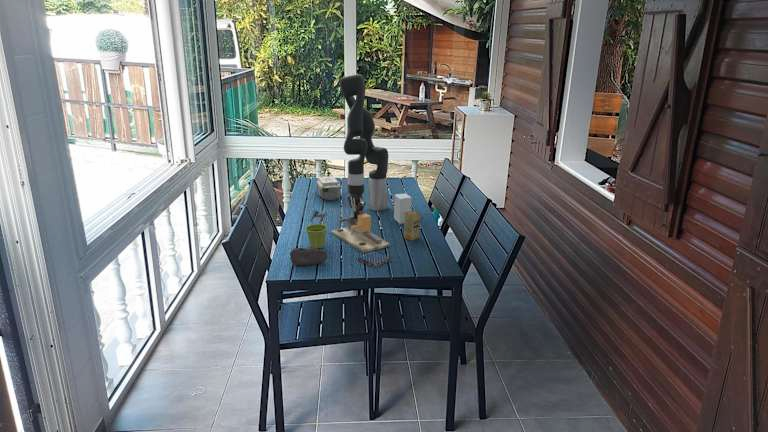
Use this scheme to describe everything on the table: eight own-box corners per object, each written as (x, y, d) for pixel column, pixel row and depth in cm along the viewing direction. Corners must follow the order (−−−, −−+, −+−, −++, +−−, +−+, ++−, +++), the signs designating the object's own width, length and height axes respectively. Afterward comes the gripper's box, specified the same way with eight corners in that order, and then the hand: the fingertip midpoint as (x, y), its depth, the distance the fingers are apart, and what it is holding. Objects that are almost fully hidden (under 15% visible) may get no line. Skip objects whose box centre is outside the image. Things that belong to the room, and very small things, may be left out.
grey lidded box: (322, 202, 280) (321, 185, 278) (315, 191, 307) (314, 175, 304) (343, 201, 283) (342, 183, 281) (334, 190, 310) (334, 174, 307)
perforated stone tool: (327, 260, 210) (327, 244, 207) (328, 265, 205) (328, 249, 202) (290, 262, 207) (289, 246, 205) (290, 268, 202) (289, 251, 200)
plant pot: (318, 252, 217) (318, 233, 215) (301, 247, 222) (300, 228, 219) (332, 245, 225) (331, 226, 222) (315, 240, 230) (314, 222, 227)
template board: (357, 227, 246) (357, 213, 244) (390, 246, 224) (390, 231, 222) (331, 232, 239) (331, 218, 237) (362, 252, 217) (362, 237, 215)
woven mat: (356, 261, 210) (356, 256, 209) (374, 254, 217) (374, 249, 216) (373, 269, 203) (373, 264, 202) (392, 261, 210) (392, 257, 210)
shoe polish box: (419, 237, 234) (420, 213, 230) (411, 240, 231) (412, 215, 227) (411, 235, 237) (411, 210, 233) (403, 237, 234) (404, 213, 230)
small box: (411, 222, 253) (412, 197, 249) (399, 224, 251) (400, 198, 247) (405, 217, 260) (405, 193, 256) (393, 218, 258) (394, 194, 254)
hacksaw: (314, 212, 268) (314, 210, 267) (334, 213, 267) (334, 210, 267) (305, 229, 245) (305, 226, 244) (327, 229, 244) (326, 226, 244)
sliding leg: (366, 230, 236) (366, 213, 233) (370, 232, 233) (370, 216, 230) (348, 233, 231) (348, 217, 228) (353, 236, 228) (353, 219, 225)
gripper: (370, 184, 228) (370, 221, 234) (355, 178, 239) (356, 213, 244) (356, 187, 224) (356, 224, 230) (341, 180, 235) (342, 216, 240)
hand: (356, 218), depth 237 cm, fingers closed
